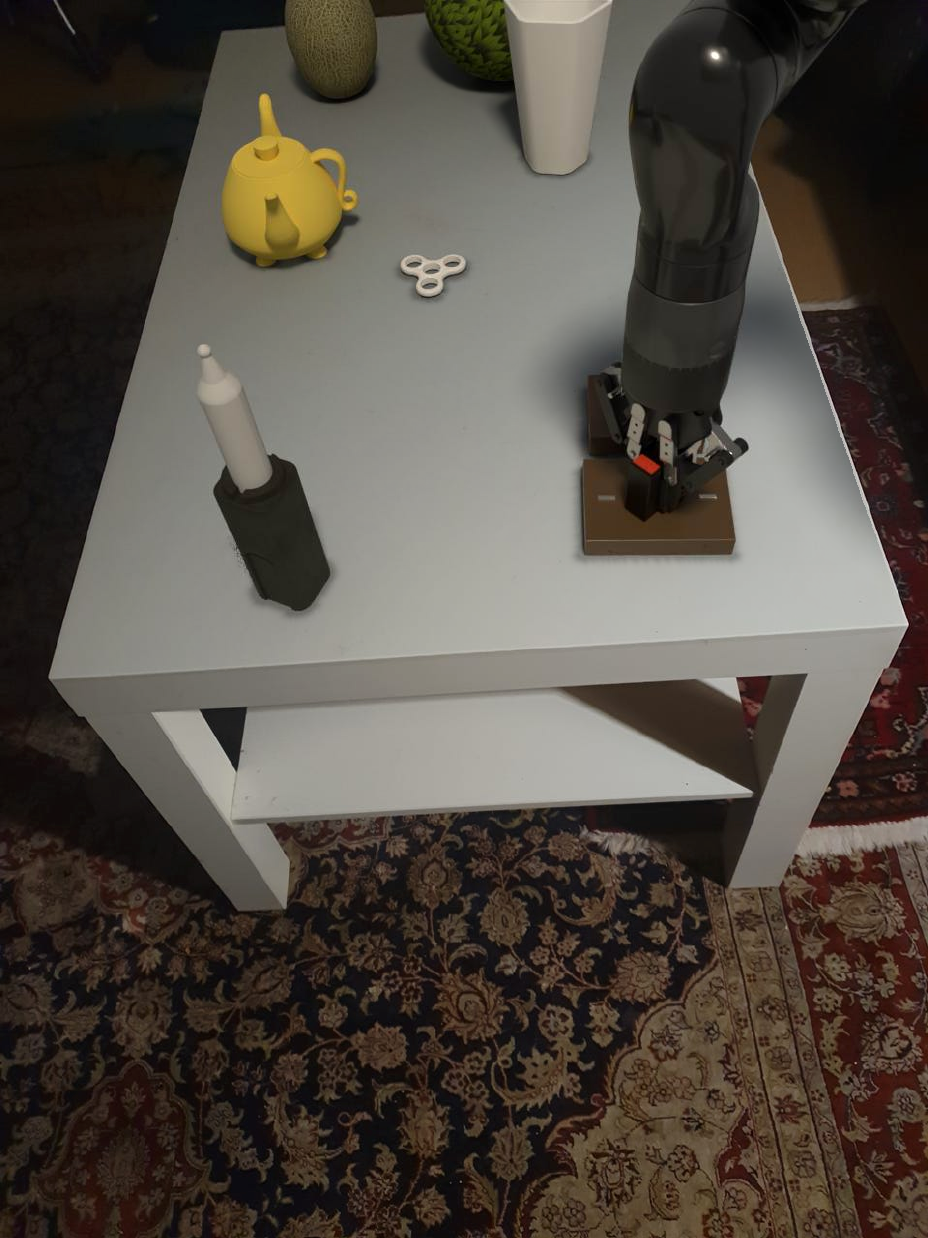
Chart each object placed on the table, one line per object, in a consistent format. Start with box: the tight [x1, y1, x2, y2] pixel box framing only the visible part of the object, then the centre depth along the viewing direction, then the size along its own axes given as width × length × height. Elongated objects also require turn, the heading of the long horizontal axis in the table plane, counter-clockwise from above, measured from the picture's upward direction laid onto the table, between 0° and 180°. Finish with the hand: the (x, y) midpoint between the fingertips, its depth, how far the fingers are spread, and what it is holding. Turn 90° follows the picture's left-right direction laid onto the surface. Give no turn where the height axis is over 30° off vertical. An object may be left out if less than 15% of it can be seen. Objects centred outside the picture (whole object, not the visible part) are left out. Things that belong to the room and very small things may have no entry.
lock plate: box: [581, 456, 737, 556], centre depth 77 cm, size 12×9×2 cm
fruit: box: [284, 0, 378, 99], centre depth 114 cm, size 11×11×15 cm
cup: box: [504, 0, 614, 176], centre depth 101 cm, size 11×10×17 cm
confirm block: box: [586, 374, 707, 456], centre depth 83 cm, size 10×8×4 cm
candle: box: [196, 343, 331, 612], centre depth 67 cm, size 5×5×25 cm
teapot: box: [221, 93, 359, 268], centre depth 98 cm, size 20×15×12 cm
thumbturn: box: [625, 441, 664, 522], centre depth 74 cm, size 6×2×6 cm, turn 132°
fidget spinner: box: [400, 253, 467, 298], centre depth 97 cm, size 7×6×1 cm
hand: (655, 493), depth 76 cm, fingers closed on thumbturn, 2 cm apart
